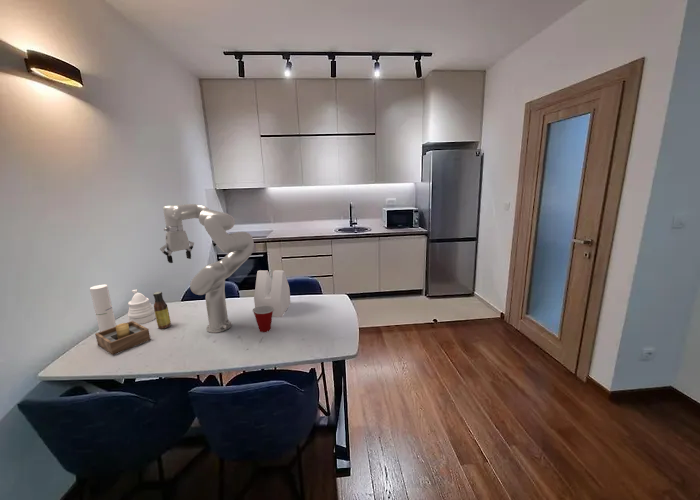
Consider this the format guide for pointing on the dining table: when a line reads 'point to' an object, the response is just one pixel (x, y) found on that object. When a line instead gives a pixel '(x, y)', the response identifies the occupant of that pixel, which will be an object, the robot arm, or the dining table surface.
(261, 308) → the plastic cup
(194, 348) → the dining table surface
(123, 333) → the peg
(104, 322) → the cylindrical container
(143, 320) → the honey pot
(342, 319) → the dining table surface
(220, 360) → the dining table surface
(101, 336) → the peg box
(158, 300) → the sauce bottle
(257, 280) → the white notched block
